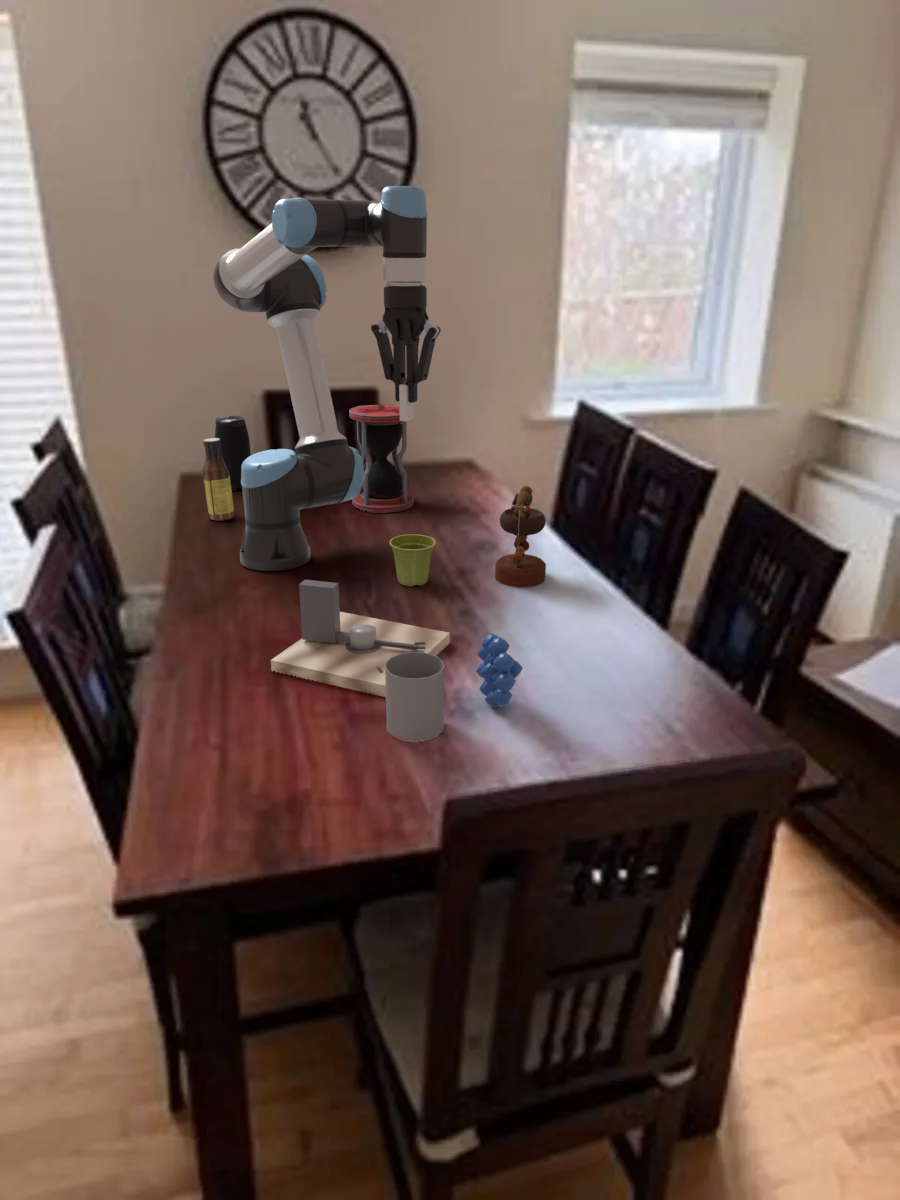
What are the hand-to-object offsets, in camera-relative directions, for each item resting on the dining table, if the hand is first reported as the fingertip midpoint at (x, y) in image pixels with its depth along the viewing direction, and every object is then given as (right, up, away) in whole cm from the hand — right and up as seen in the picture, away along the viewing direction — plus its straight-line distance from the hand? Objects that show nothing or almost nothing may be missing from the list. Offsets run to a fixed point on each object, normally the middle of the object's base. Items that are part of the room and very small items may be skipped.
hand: (406, 419), depth 162 cm
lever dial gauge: (-7, -41, -14) cm, 44 cm away
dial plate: (-7, -43, -14) cm, 45 cm away
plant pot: (0, -30, +19) cm, 35 cm away
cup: (+3, -52, -35) cm, 62 cm away
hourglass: (-10, -8, +71) cm, 72 cm away
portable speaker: (-52, -2, +85) cm, 100 cm away
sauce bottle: (-49, -13, +59) cm, 78 cm away
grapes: (+16, -49, -29) cm, 59 cm away
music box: (+23, -29, +22) cm, 43 cm away
